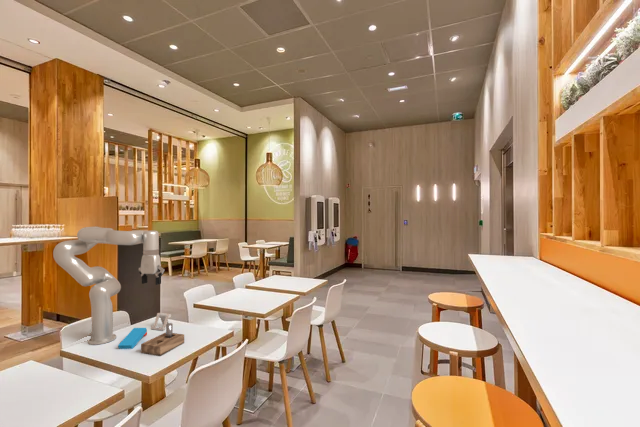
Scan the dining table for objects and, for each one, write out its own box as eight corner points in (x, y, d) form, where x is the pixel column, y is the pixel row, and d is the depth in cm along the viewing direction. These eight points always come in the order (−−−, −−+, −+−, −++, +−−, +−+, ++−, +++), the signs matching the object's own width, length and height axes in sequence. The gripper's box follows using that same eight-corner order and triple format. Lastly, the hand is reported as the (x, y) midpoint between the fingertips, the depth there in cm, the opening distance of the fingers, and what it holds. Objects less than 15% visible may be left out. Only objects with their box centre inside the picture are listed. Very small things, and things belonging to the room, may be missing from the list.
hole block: (141, 353, 153) (141, 343, 153) (166, 340, 168) (166, 332, 168) (160, 356, 149) (160, 346, 149) (184, 342, 164) (184, 334, 164)
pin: (164, 343, 161) (164, 324, 161) (169, 341, 164) (169, 322, 164) (169, 344, 160) (169, 325, 160) (173, 342, 163) (173, 323, 163)
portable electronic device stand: (150, 329, 184) (150, 315, 184) (161, 325, 191) (160, 311, 191) (162, 331, 181) (162, 317, 181) (172, 326, 189) (172, 312, 189)
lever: (133, 356, 159) (151, 334, 176) (131, 345, 157) (149, 323, 174) (120, 356, 159) (139, 334, 176) (117, 345, 157) (137, 323, 174)
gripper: (133, 253, 170) (133, 284, 170) (158, 254, 165) (158, 286, 165) (144, 251, 177) (145, 281, 177) (168, 252, 172) (169, 283, 172)
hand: (151, 283), depth 171 cm, fingers open, 9 cm apart
